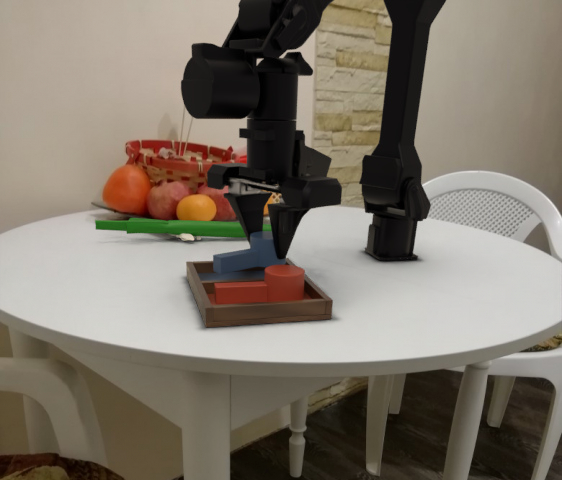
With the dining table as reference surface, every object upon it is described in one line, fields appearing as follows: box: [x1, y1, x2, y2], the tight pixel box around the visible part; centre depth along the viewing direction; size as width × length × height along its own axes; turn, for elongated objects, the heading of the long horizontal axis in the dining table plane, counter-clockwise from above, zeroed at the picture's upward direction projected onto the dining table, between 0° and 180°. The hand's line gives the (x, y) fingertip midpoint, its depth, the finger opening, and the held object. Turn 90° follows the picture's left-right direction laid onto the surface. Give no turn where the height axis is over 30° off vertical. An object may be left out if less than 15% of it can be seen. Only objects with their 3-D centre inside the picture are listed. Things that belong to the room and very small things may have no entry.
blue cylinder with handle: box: [212, 231, 287, 274], centre depth 67 cm, size 10×5×4 cm, turn 132°
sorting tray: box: [185, 257, 334, 328], centre depth 66 cm, size 14×18×2 cm
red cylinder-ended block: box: [214, 265, 306, 304], centre depth 62 cm, size 10×5×4 cm, turn 103°
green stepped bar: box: [94, 217, 272, 242], centre depth 90 cm, size 5×3×30 cm
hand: (268, 254), depth 69 cm, fingers closed on blue cylinder with handle, 4 cm apart
